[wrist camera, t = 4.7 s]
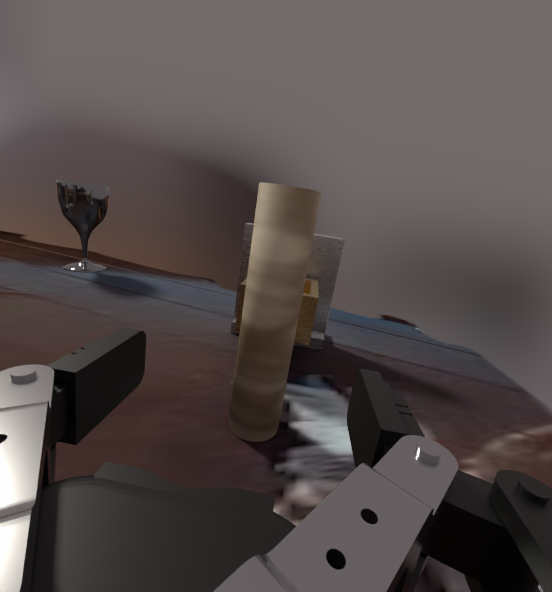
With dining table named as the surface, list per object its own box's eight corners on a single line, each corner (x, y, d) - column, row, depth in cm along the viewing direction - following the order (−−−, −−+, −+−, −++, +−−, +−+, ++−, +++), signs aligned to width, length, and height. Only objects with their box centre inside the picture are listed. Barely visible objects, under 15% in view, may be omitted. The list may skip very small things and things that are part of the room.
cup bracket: (323, 385, 32) (353, 249, 28) (209, 362, 33) (223, 228, 29) (321, 332, 46) (341, 236, 42) (240, 317, 47) (253, 221, 43)
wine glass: (116, 266, 63) (117, 188, 59) (94, 275, 56) (93, 186, 52) (76, 260, 63) (74, 181, 59) (49, 268, 56) (44, 178, 51)
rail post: (256, 450, 23) (299, 186, 18) (217, 422, 25) (246, 180, 20) (287, 424, 26) (332, 195, 21) (251, 401, 28) (283, 188, 23)
